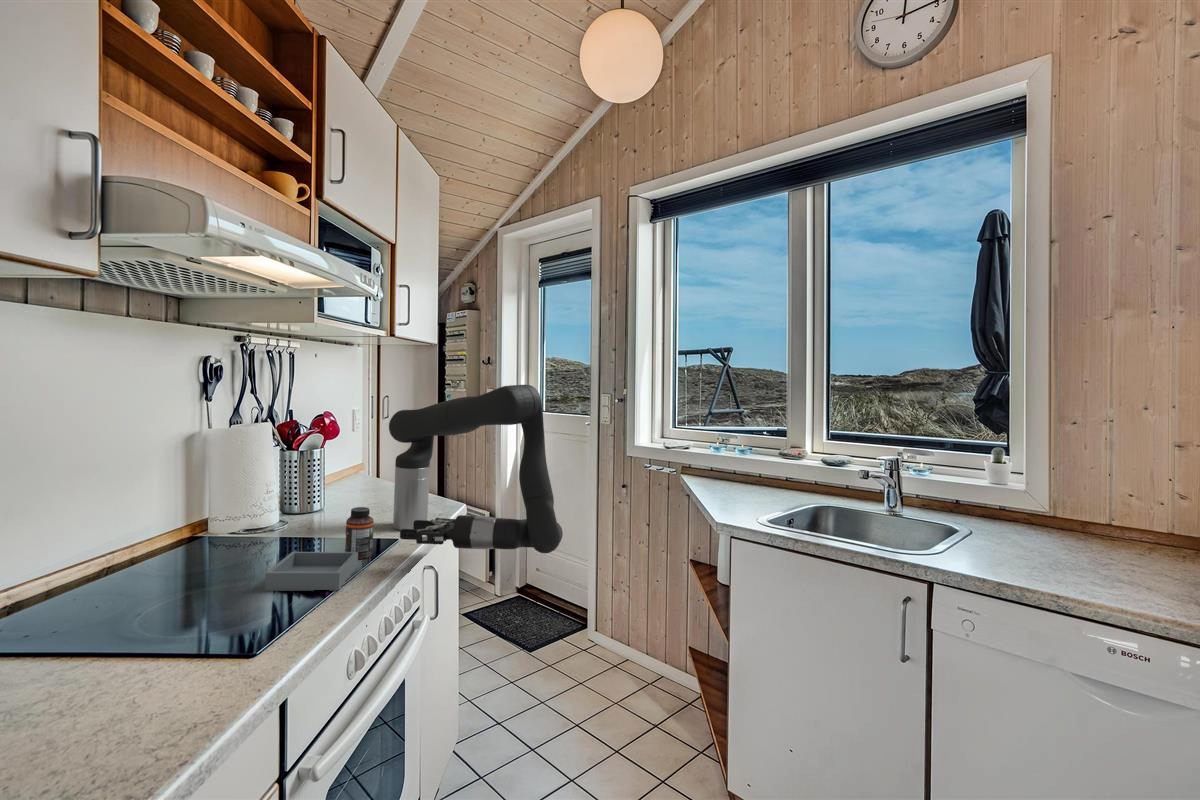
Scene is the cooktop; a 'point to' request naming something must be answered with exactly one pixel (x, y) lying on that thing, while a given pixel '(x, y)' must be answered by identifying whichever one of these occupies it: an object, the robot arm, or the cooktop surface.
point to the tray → (311, 571)
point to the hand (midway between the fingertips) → (407, 529)
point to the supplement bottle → (359, 532)
